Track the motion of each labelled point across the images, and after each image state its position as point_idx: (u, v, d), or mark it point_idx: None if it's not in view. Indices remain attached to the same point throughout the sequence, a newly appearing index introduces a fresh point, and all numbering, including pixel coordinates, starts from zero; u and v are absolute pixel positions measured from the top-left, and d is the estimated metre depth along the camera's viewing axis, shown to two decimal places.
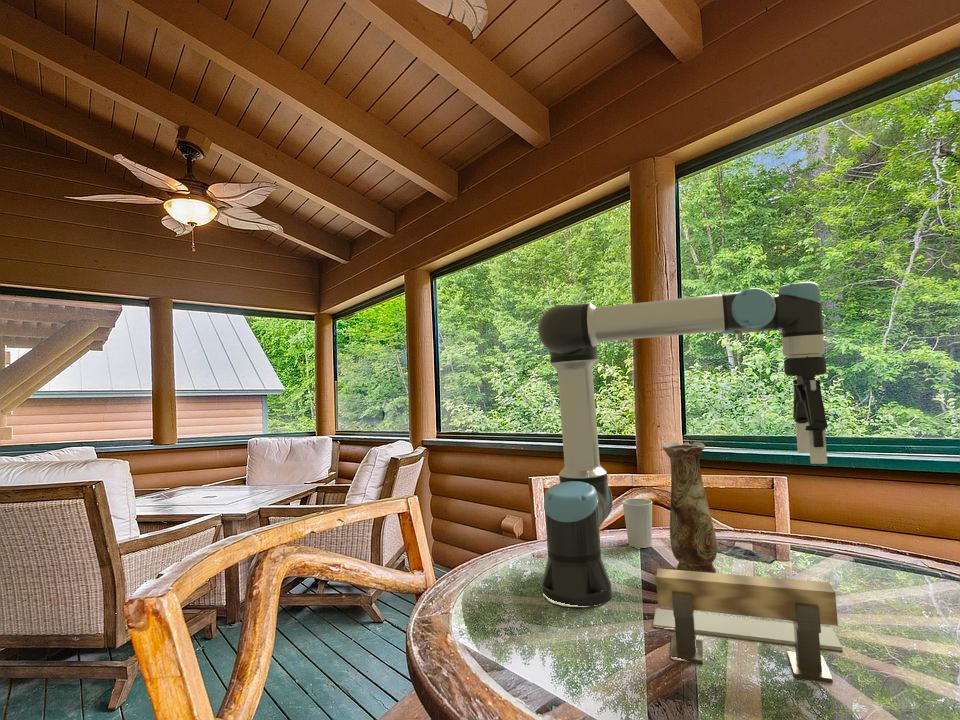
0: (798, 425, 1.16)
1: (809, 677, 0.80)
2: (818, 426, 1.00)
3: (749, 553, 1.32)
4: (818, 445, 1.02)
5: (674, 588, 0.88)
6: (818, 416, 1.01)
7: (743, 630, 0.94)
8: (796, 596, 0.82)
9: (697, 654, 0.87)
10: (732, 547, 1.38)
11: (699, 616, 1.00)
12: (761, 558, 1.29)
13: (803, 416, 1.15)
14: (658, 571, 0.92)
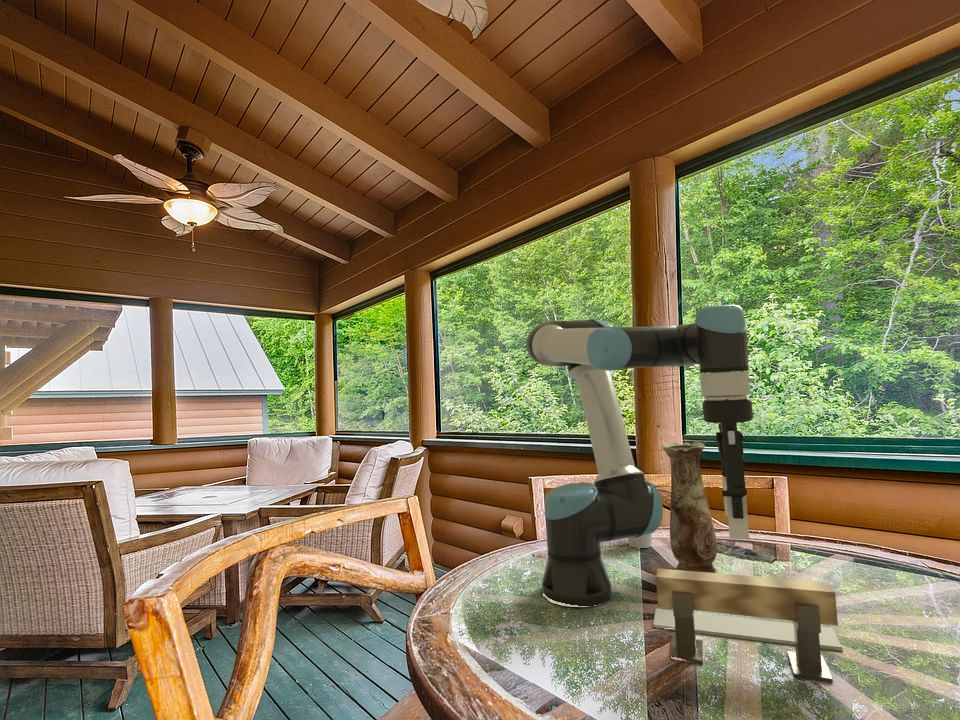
0: (725, 481, 0.93)
1: (809, 677, 0.80)
2: (735, 493, 0.78)
3: (750, 553, 1.32)
4: (737, 516, 0.79)
5: (674, 588, 0.88)
6: (735, 479, 0.78)
7: (743, 630, 0.94)
8: (796, 596, 0.82)
9: (697, 654, 0.87)
10: (732, 547, 1.38)
11: (699, 616, 1.00)
12: (762, 557, 1.29)
13: None
14: (658, 571, 0.92)
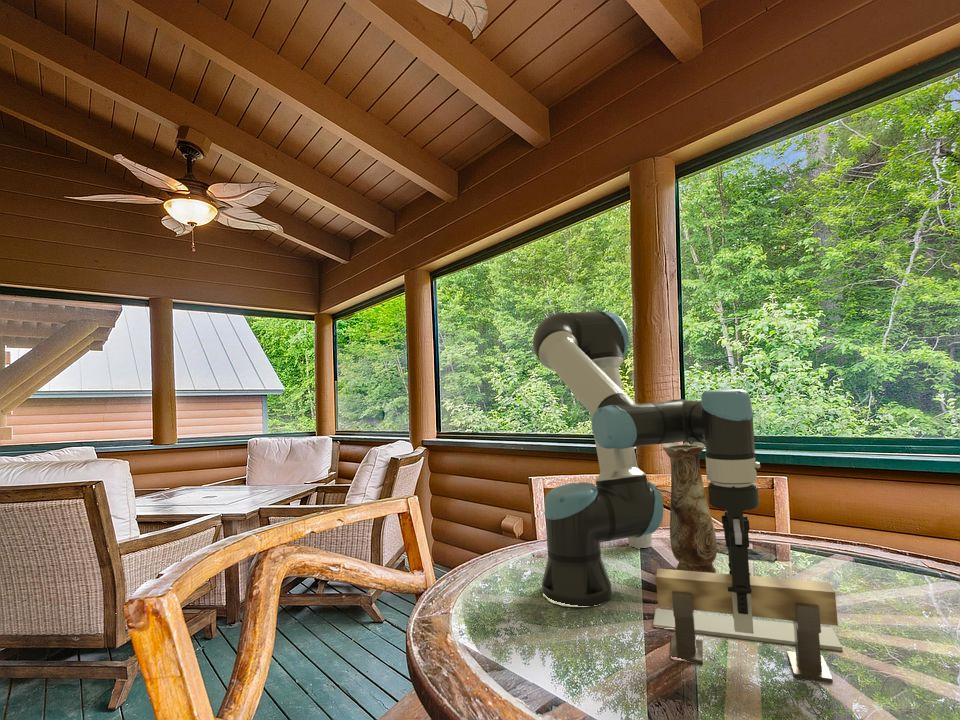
0: None
1: (809, 677, 0.80)
2: (740, 592, 0.82)
3: (751, 552, 1.32)
4: (742, 612, 0.83)
5: (674, 588, 0.88)
6: (741, 580, 0.81)
7: None
8: (795, 596, 0.82)
9: (697, 654, 0.87)
10: None
11: (699, 616, 1.00)
12: (764, 557, 1.29)
13: None
14: (658, 571, 0.92)
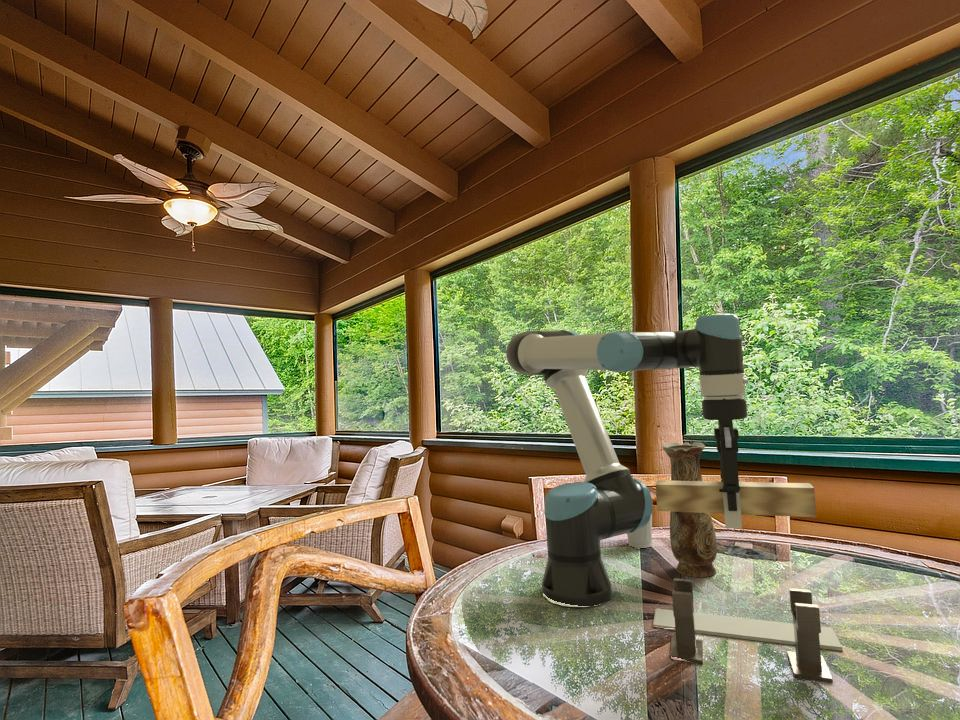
0: None
1: (809, 677, 0.80)
2: (730, 490, 0.92)
3: (752, 552, 1.32)
4: (731, 509, 0.93)
5: (672, 493, 0.99)
6: (731, 479, 0.91)
7: (743, 630, 0.94)
8: (779, 493, 0.92)
9: (697, 654, 0.87)
10: (731, 547, 1.38)
11: (699, 616, 1.00)
12: (765, 556, 1.30)
13: None
14: (657, 481, 1.02)
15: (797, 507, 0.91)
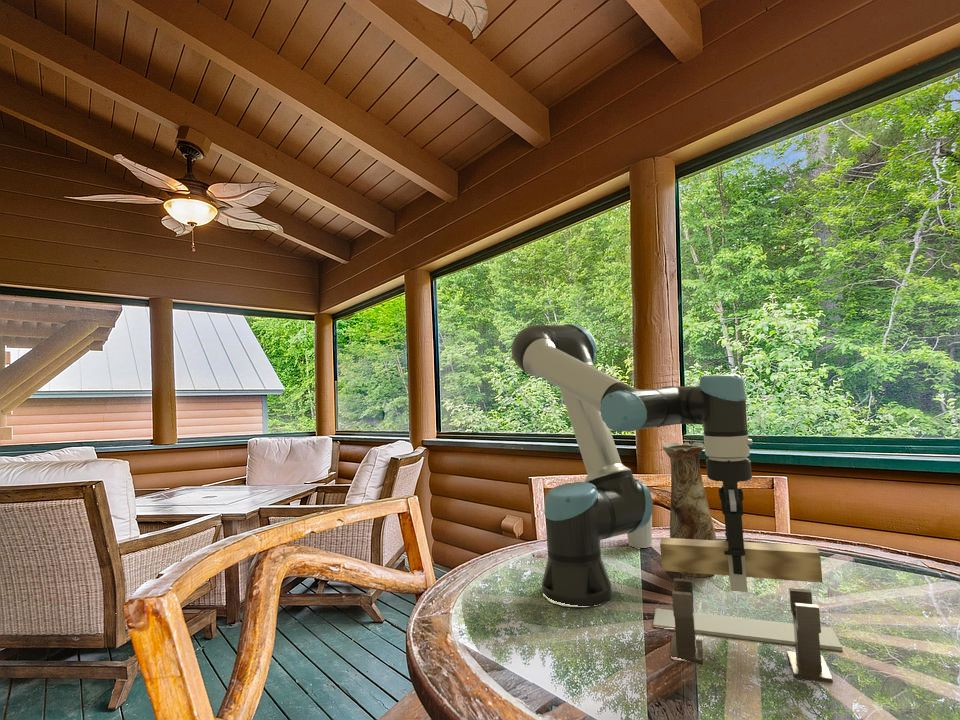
0: None
1: (809, 677, 0.80)
2: (735, 554, 0.91)
3: None
4: (737, 572, 0.93)
5: (676, 553, 0.98)
6: (736, 543, 0.91)
7: (743, 630, 0.94)
8: (785, 557, 0.91)
9: (697, 654, 0.87)
10: None
11: (699, 616, 1.00)
12: None
13: None
14: (662, 539, 1.02)
15: (803, 571, 0.90)
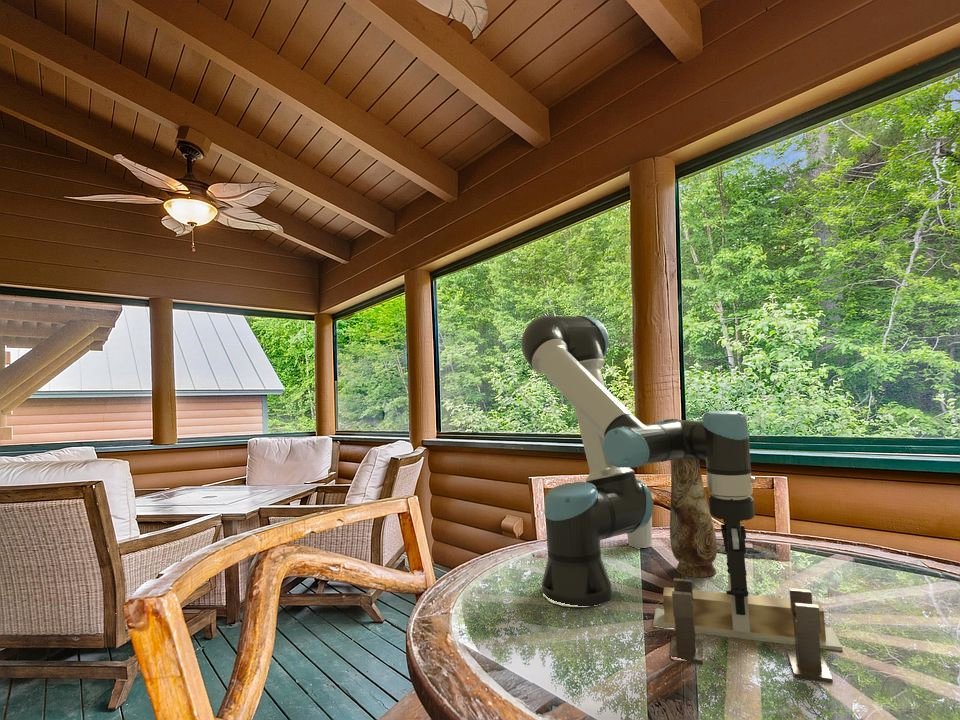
0: (730, 579, 1.00)
1: (809, 677, 0.80)
2: (738, 595, 0.90)
3: (753, 551, 1.33)
4: (739, 613, 0.91)
5: None
6: (739, 583, 0.90)
7: None
8: (788, 614, 0.91)
9: (697, 654, 0.87)
10: None
11: None
12: (766, 555, 1.31)
13: None
14: (665, 590, 1.01)
15: None
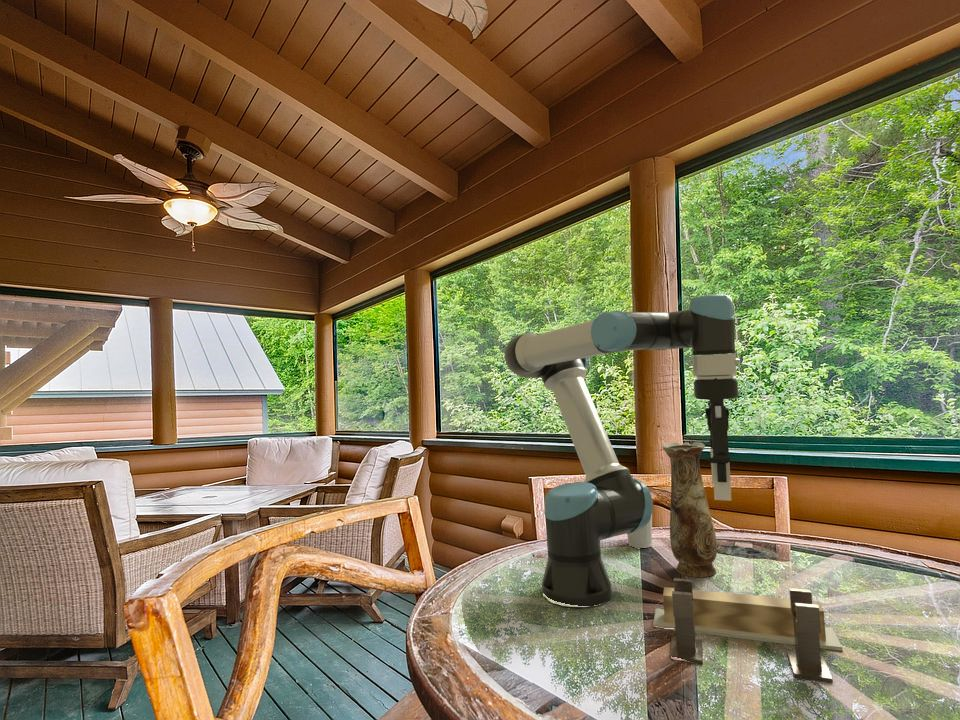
0: (712, 452, 1.05)
1: (809, 677, 0.80)
2: (720, 459, 0.89)
3: (753, 551, 1.33)
4: (721, 480, 0.91)
5: None
6: (720, 448, 0.90)
7: None
8: (788, 614, 0.91)
9: (697, 654, 0.87)
10: (730, 546, 1.38)
11: None
12: (767, 555, 1.31)
13: None
14: (665, 590, 1.01)
15: None
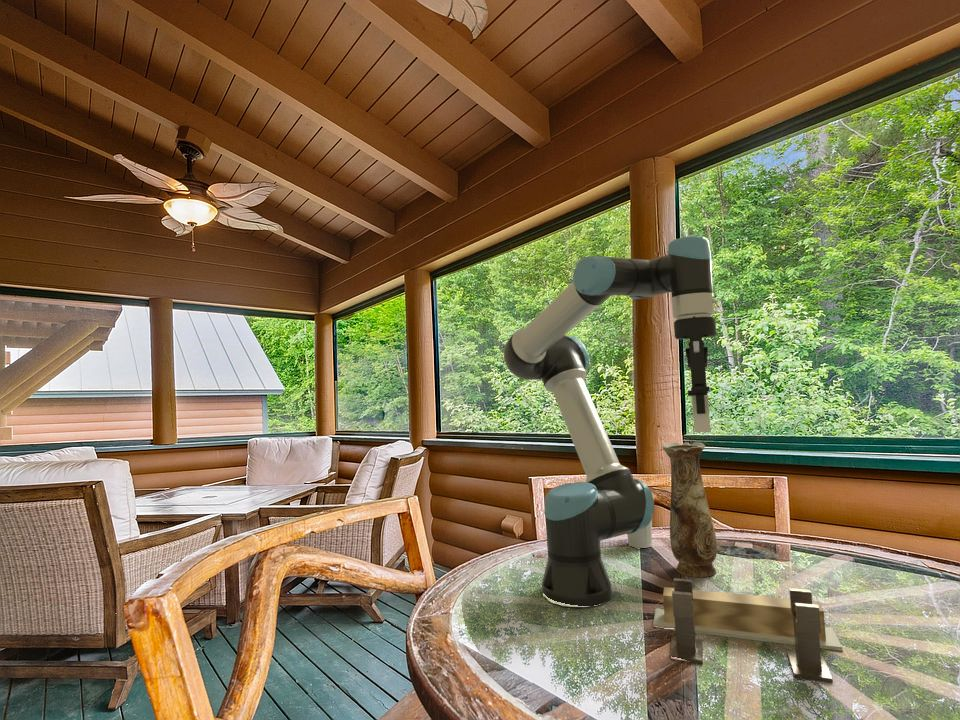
0: None
1: (809, 677, 0.80)
2: (698, 390, 0.92)
3: (752, 551, 1.33)
4: (700, 411, 0.93)
5: None
6: (698, 379, 0.92)
7: None
8: (788, 614, 0.91)
9: (697, 654, 0.87)
10: (729, 547, 1.38)
11: None
12: (766, 555, 1.31)
13: None
14: (665, 590, 1.01)
15: None
